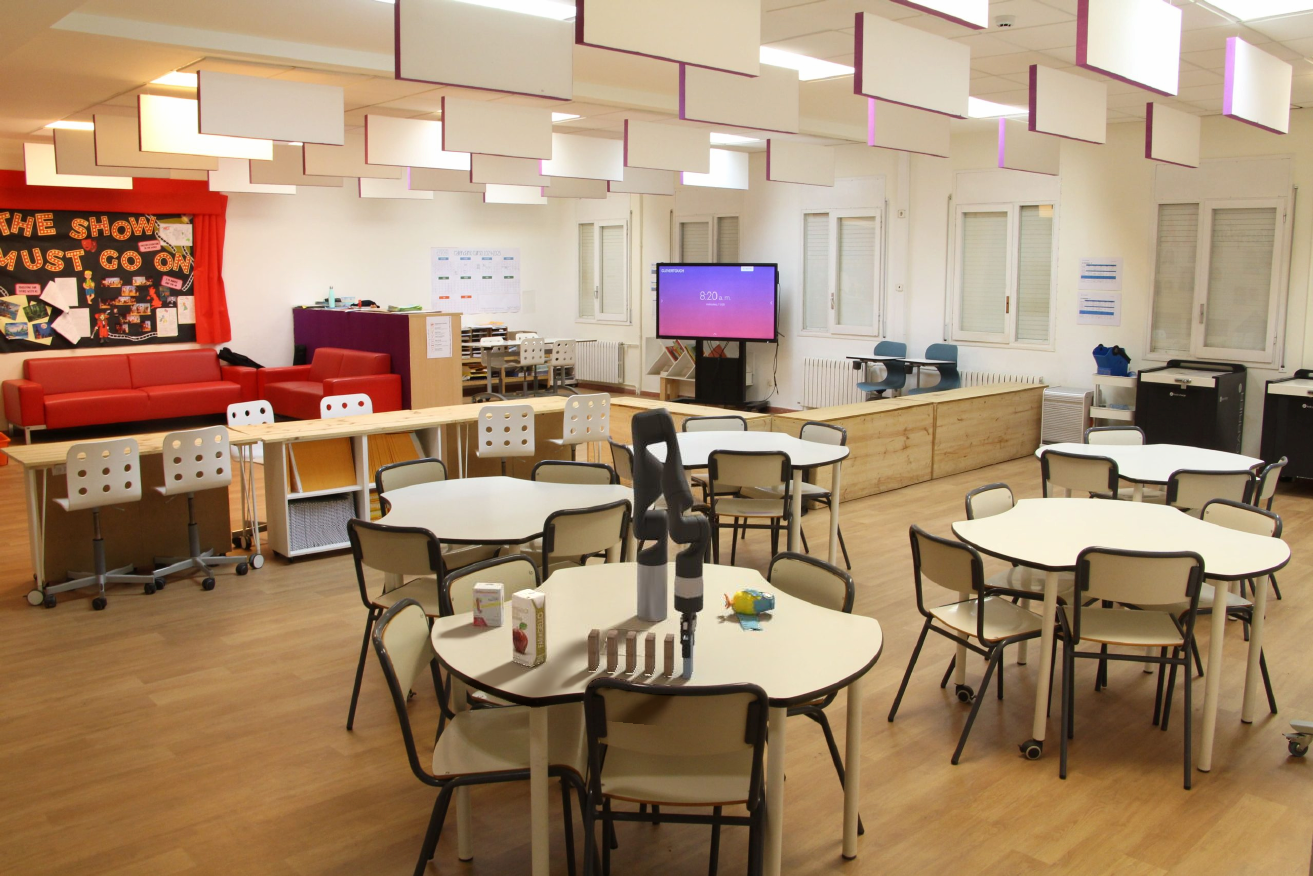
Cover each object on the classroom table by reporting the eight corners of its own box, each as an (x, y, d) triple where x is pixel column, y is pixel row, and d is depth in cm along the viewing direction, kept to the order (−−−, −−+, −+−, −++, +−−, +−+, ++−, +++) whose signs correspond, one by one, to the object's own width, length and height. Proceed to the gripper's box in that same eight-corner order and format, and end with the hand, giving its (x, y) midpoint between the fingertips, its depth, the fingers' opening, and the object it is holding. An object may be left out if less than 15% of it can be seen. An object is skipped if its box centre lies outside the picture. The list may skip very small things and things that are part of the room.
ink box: (472, 626, 291) (471, 587, 289) (476, 620, 296) (475, 582, 294) (501, 627, 290) (500, 588, 288) (504, 621, 295) (504, 583, 293)
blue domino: (685, 670, 259) (685, 634, 257) (692, 671, 259) (693, 635, 257) (682, 678, 254) (683, 641, 252) (690, 679, 254) (691, 642, 252)
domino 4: (647, 668, 260) (647, 632, 259) (655, 668, 260) (655, 632, 259) (644, 675, 256) (644, 639, 254) (652, 676, 255) (652, 639, 254)
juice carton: (529, 653, 270) (528, 586, 267) (551, 661, 265) (550, 593, 262) (508, 661, 265) (507, 593, 261) (530, 669, 259) (529, 600, 256)
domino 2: (610, 666, 262) (610, 630, 260) (618, 666, 262) (617, 630, 260) (606, 673, 257) (606, 637, 255) (614, 674, 257) (614, 637, 255)
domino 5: (666, 669, 260) (666, 633, 258) (673, 670, 259) (674, 634, 258) (663, 677, 255) (663, 640, 253) (671, 677, 255) (671, 640, 253)
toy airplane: (718, 575, 314) (765, 575, 315) (717, 601, 316) (764, 601, 317) (733, 604, 287) (784, 604, 288) (732, 632, 288) (782, 632, 289)
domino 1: (592, 664, 263) (592, 629, 261) (599, 665, 262) (599, 629, 261) (588, 672, 258) (587, 635, 256) (595, 672, 258) (595, 636, 256)
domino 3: (629, 667, 261) (629, 631, 260) (636, 667, 261) (636, 631, 259) (625, 674, 256) (625, 638, 255) (633, 675, 256) (633, 638, 254)
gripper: (677, 582, 260) (677, 641, 263) (670, 599, 246) (670, 661, 249) (706, 583, 259) (705, 642, 262) (700, 601, 245) (699, 663, 248)
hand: (688, 651), depth 255 cm, fingers open, 8 cm apart
